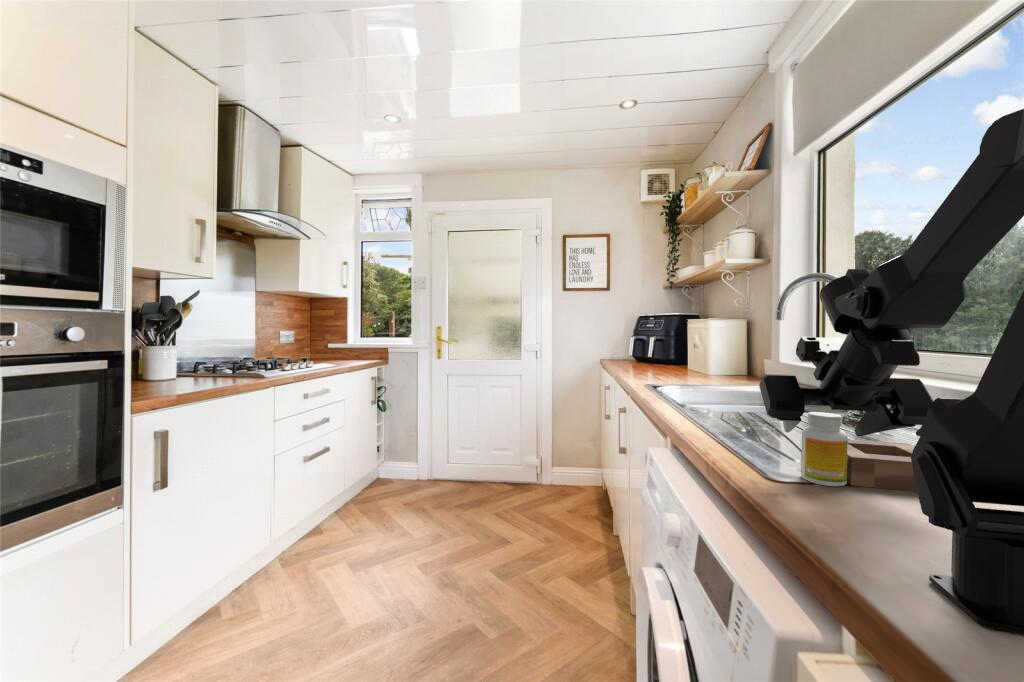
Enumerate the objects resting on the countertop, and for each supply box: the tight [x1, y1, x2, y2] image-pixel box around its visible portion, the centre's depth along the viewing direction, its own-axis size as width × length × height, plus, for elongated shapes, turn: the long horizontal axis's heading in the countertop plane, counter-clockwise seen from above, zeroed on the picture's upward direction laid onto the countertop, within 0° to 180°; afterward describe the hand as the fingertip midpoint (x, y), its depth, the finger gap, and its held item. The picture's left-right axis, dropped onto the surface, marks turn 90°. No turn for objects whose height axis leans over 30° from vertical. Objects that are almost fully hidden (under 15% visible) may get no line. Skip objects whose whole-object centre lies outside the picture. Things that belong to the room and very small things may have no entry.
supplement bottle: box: [800, 411, 848, 487], centre depth 62 cm, size 5×5×10 cm
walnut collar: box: [847, 439, 918, 493], centre depth 64 cm, size 12×12×4 cm
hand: (820, 431), depth 63 cm, fingers open, 9 cm apart
